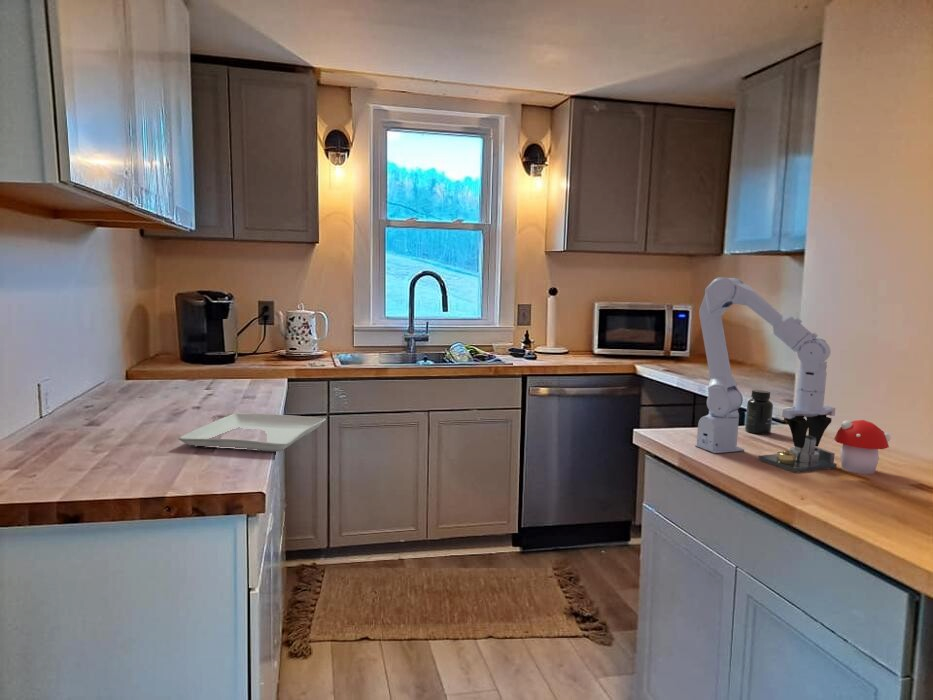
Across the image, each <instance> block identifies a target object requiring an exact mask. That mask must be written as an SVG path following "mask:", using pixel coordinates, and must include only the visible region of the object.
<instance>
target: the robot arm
mask: <svg viewBox="0 0 933 700" xmlns="http://www.w3.org/2000/svg"><path fill="white" fill-rule="evenodd" d="M704 293H705V294H704V296H703V299H702V302H701V305H700V307H699V311H698V315H699V321H700V327H701V332H702V339H703V344H704V349H705V351H704V352H705V356H706V360H707V361H706V363H707V367H708V374H709V379H710V380H709V383H708V386H707V391H708V392H707V394H708V395H707V398H706V407H707V409H708V414H706V415H704V416H702V417H700V419H699V420H698V424H697V435H696V442H695V443H694V446H695V447H698V448H700V449H703V450H705V451H709V452H711V453H714V454H723V453H733V452H744V451H745V448H744V447H740V446H738V445H737V444H738V434H739V433H738V432H739V421H740V420H739V418H740V413H739V409H740V408H741V407H742V404H743V401H744V398H743V395H742V392H741V391H740V390H739V388H738V386H737V385H738V384H737V382H736V380H735V378H734V377H733V375H732V370H731V369H732V368H731V363H730V357H729V354H728V348H727V347H728V346H727V343H726V342H727V340H726V335H725V330H724V324H723V318H722V317H723V315H724V314H725V312H726V311H727V310H728V309H729V308H730V307H731V306H733V305H734V304H735V305H740V306H747V307H748V308H749V309H751V310H752V311H753V312H754V313H755V314H757V315H758V316H760V318H762V319H763V320H765V321H766V322H767V323H768V324H770V325H771V326H772V329H773V334H774V335H775V336H776V337H777V338H778V339H779V340H780V341H782V342H783V344H785V345H786V346H787V347H788V348H790V349H791V350H792V352H796V355H797V359H798V360H799V361H800V362H799V363H800V364H799V370H798V377H797V378H798V379H797V389H796V399H795V400H796V401H795V406H792V407H788V408H782V412H781V413H782V415H781V417H782V418H784V419H785V420H786V423H787V424H788V426H789V429H790V432H791V437H792V443H793V446H794V447H795V446H796V447H799V448H803V447H804V444H805V437H806V435H809V436H813V437H815V438H816V446H815V447H818V448H819V445H820V442H821V440H822V437H823V435H824V432H825V431H826V430H827V428H828V427H829V425H831V423H832V416H833V417H834V416H835V415H836V407H833V406H829V405H828V406H827V405H824V404H825V394H826V383H827V367H828V365H827V363H828V362H827V360H828V359H829V357H830V356H831V347H830V345H829V344H828V342H827V341H826V340H825V339H823V338H818V334H817V333H816V332H812V331H810V330H809V329H808V328H807V327H805V326H804V325H803V324H802V320H801V319H800V318H799V317H796V318H794V317H793V316H783V314H781V313H780V312H779V311H778V310H777V308H775V307H773V305H772V304H770V303H769V302H768V301H767V300H766V299H765V298H763V297H762V296H761V295H760V294H759V293H758V292H757V291H756V290H755V289H754V288H752V287H751V285H748V284H746V283H744V282H743V281H742V279H739V278H738V277H725V276H719V277H716V278H715V279H713V280H712V281H711V282H710V283H709V284H708V285H707V286H706V287H705V290H704ZM828 416H831V417H828Z"/></svg>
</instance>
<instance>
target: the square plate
mask: <svg viewBox="0 0 933 700" xmlns="http://www.w3.org/2000/svg"><path fill="white" fill-rule="evenodd" d="M323 422H326V418H325V417H314V416H301V415H289V414H288V415H287V414H275V413H273V414H272V413H269V414H268V413H231V414H229V415H227V416H224V417H222V418H218V419H216V420H214V421H212V422H210V423H207V424H205V425H203V426H200V427H198V428H197V429H194V430H192V431H189V432H188V433H185V434H184V435H182V436H179V437H178V440H179V441H181V442H182V443H184V445H187V444H188V446H191V445H197V446H219V447H235V448H247V449H257V450H265V451H264V452H281V451H283V450H285V449H287V448H288V447H290V446H291V445H293V444H294V443H296V442H297V441H298V440H300V439H301V438H303V437H305V436H307V435H308V434H310V433H312V432H313V431H315V430H316V429H318V428H319V427H320V426H321V424H323ZM238 427H240V428H243V429H244V430H245V429H252V430H253V429H261V430H263V431H265V433H266V434H267V442H261V441H252V440H240V439H209V438H212V437H215V436H217V435H219V434H222V433H225V432H227V431H230V430H232V429H236V428H238ZM197 446H196V447H197Z"/></svg>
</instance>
